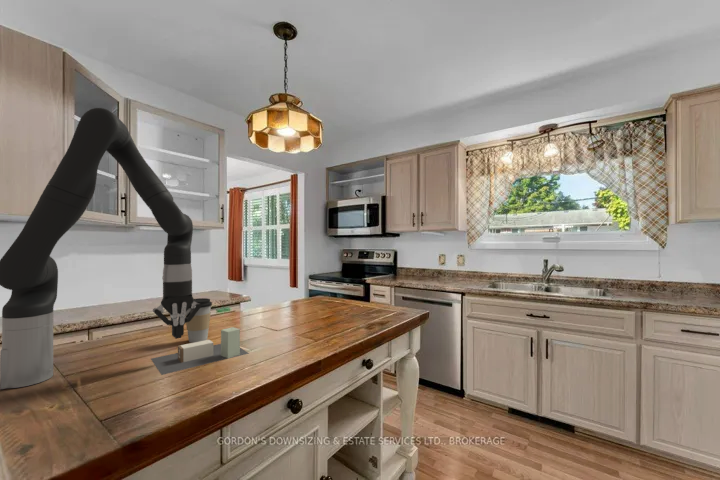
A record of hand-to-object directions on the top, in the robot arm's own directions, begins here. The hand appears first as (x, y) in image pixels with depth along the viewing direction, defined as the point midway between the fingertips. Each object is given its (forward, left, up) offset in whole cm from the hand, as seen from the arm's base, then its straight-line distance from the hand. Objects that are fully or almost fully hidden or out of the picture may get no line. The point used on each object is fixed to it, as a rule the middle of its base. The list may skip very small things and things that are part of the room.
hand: (178, 337), depth 94 cm
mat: (+6, 0, -8) cm, 10 cm away
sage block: (+13, -5, -7) cm, 16 cm away
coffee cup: (+10, +18, -8) cm, 22 cm away
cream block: (0, 0, -5) cm, 5 cm away
